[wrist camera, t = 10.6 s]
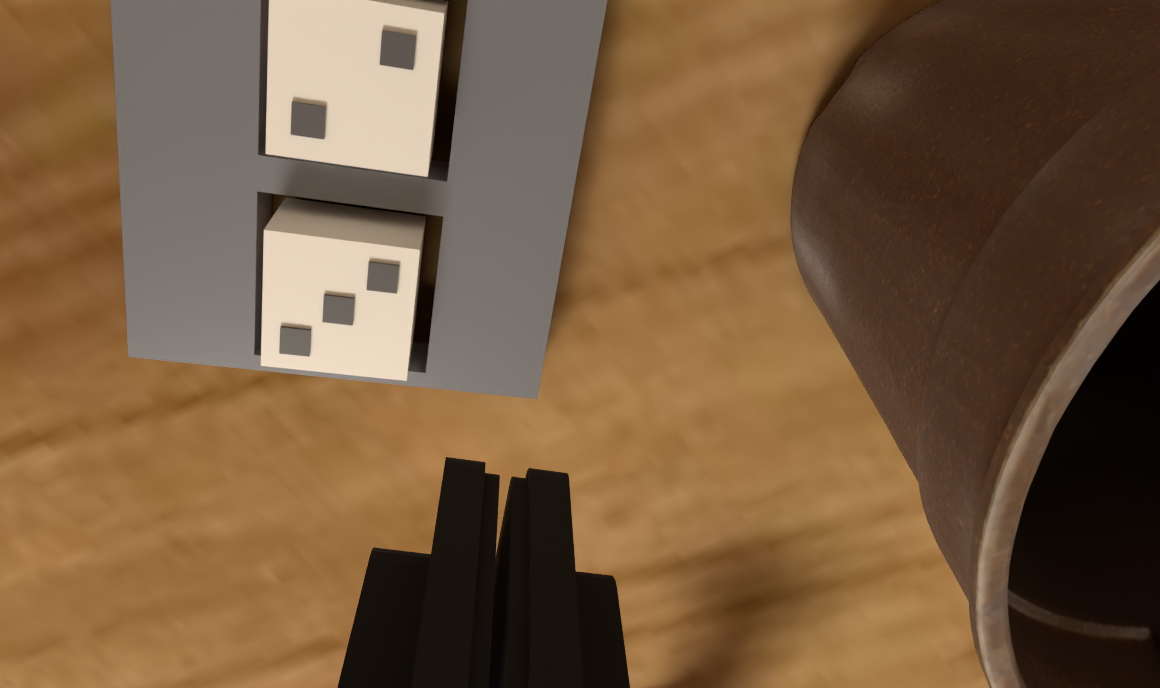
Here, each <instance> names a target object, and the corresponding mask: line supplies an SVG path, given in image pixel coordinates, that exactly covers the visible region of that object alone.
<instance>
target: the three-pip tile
mask: <svg viewBox="0 0 1160 688" xmlns="http://www.w3.org/2000/svg"><path fill="white" fill-rule="evenodd" d="M425 222H426V216H419V215H411V214H404V213H397V212H389V211H382V210H374V209H367V208H359V207H352V206H344V205H337V204H330V203H322V202H315V201H307V200H300V199H292V198H285V199H284V200H283V202H282V203H281V205H280V206H279V208H278V209H277V211H276V212H275V214H274V215H273V217H272V218H271V220H270V221H269V223H268V224H267V226H266V227H265V229H264V244H263V289H262V334H261V366H267V367H277V368H287V369H296V370H306V371H315V372H325V373H335V374H344V375H354V376H364V377H373V378H383V379H392V380H402V381H407V376H408V370H409V363H410V357H411V351H412V344H413V338H414V328H415V319H416V309H417V299H418V290H419V280H420V271H421V261H422V251H423V242H424V232H425Z"/></svg>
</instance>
